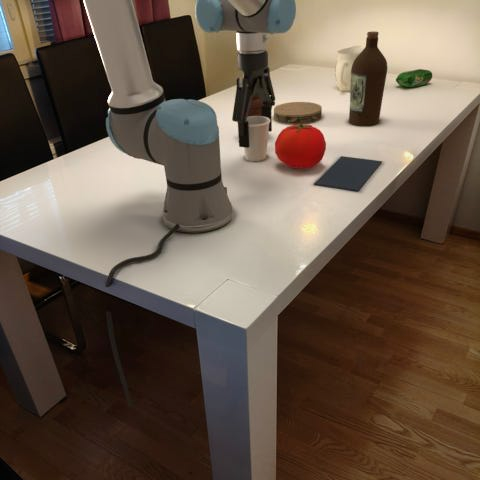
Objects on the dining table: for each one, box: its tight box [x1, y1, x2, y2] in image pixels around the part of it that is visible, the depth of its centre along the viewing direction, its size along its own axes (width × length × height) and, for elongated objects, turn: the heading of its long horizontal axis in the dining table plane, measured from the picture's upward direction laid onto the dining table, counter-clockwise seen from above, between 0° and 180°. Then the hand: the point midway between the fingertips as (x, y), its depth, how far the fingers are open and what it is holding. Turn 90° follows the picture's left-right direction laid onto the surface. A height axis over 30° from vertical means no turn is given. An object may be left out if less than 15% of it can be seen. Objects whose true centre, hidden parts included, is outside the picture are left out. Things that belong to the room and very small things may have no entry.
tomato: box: [274, 124, 327, 170], centre depth 125 cm, size 13×12×11 cm
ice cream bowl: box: [247, 92, 273, 117], centre depth 144 cm, size 11×11×15 cm
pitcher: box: [334, 45, 364, 93], centre depth 185 cm, size 11×18×14 cm, turn 151°
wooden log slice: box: [273, 101, 323, 126], centre depth 163 cm, size 16×16×3 cm
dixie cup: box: [243, 116, 270, 162], centre depth 132 cm, size 8×8×10 cm
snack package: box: [395, 68, 433, 88], centre depth 188 cm, size 7×16×5 cm, turn 120°
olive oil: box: [348, 30, 388, 127], centre depth 148 cm, size 11×11×25 cm
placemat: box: [313, 155, 383, 192], centre depth 123 cm, size 20×11×1 cm, turn 152°
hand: (256, 138), depth 133 cm, fingers open, 13 cm apart
